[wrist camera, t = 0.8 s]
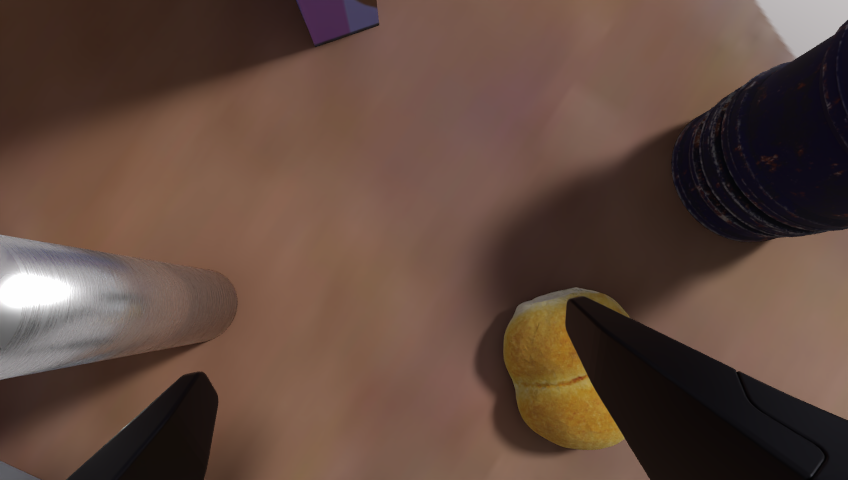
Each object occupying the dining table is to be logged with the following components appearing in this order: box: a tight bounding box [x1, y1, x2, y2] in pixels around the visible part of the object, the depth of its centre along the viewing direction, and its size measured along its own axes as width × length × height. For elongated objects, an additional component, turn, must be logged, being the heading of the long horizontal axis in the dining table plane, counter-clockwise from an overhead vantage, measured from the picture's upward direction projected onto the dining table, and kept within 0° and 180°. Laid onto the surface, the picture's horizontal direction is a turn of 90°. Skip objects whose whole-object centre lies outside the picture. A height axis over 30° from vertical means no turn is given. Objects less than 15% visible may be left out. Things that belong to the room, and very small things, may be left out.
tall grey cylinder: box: [0, 235, 237, 380], centre depth 17 cm, size 4×4×13 cm
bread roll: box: [503, 287, 630, 450], centre depth 22 cm, size 8×9×4 cm
